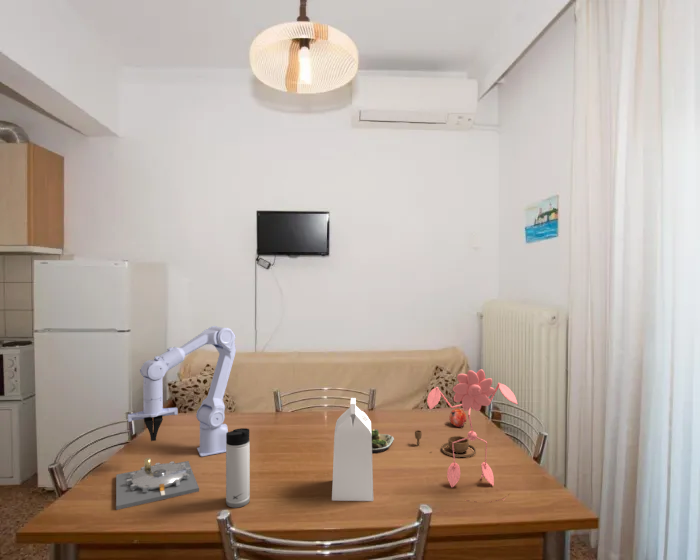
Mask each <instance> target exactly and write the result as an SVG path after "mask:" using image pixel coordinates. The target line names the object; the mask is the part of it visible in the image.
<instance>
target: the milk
mask: <svg viewBox="0 0 700 560" xmlns="http://www.w3.org/2000/svg"><path fill="white" fill-rule="evenodd" d="M349 404H350V407H349V408H347V409H346V411H344V412H343V413H342V414H341V415H340V416H339V417H338V418H337V420H336V423H335V428H334V434H333V435H334V437H333V438H334V439H333V460H332V461H333V464H332V466H333V467H332V468H333V469H332V487H331V488H332V489H331V490H332V491H331V501H340V502H341V501H342V502H344V501H345V502H348V501H349V502H350V501H351V502H352V501H353V502H374V478H373V477H374V476H373V474H374V473H373V453H372V434H371V430H372V421H371V420H370V418H369V416H368V414H366V412H364V411H363V410H361V409H360V408H359V407H358V406H357V399H356V397H351V398H350V403H349Z"/></svg>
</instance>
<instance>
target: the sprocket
mask: <svg viewBox="0 0 700 560" xmlns="http://www.w3.org/2000/svg"><path fill="white" fill-rule="evenodd" d="M143 462H144V464H143V465H144V466H142V467H140V469H139V470H140V471H138V470H137V471H138V472H137V473H131V474H130V478H132V479H127V485H130V490H135V489H141V490H143V492H148V491H149V490H156V489H159V490H160V491H163V490H164V488H166V487H170V486H172V485H175V486H178V485H180V481H182V480H183V479H188V478H189V474H188V473H191V469H192V467H191V468H190V467H189V468H186V464H185V463H182V464H175V463H176V462H175V461H170V462H168V463H160V462H156V463H155V464H153V465H152V459H151V457H146V458H144V461H143ZM131 484H132V485H131Z"/></svg>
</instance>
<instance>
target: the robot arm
mask: <svg viewBox="0 0 700 560" xmlns="http://www.w3.org/2000/svg"><path fill="white" fill-rule="evenodd" d="M235 341H236V334H235V333H234V332H233V330H232V329H231V328H230V327H220V326H217V325H213V326H210V327H208V328H205V329H204V330H203V331H202V332H200V334H198V335H196V336H195V337H193V338H192V339H190V340H188V341H187V342H186V343H183V344H182V346H180V347H177V346H170V347H168V348H167V349H166V351H165V352H163V353H161V354H160V355H156V356H154V358H153V359H148V360H146V361H144V363H142V365H141V367H140V369H139V373H140V374H141V376H143V377H142V378H143V381H142V382H143V384H142V385H143V387H142V388H143V389H142V391H143V393H142V395H143V397H142V399H143V400H142V401H143V403H142V405H143V410H141V411H137V412H131V413H127V422H133V421H138V420H143V421H144V424H145V426H146V428H147V429H148V433H149V436H150V442H155V441H157V436H158V432H159V428H160V426H161V424H162V423H163V420H164V419H163V417H168V416H178V415H179V414H178V413H179V412H178V406H177V407H165V408H164V405H163V403H164V402H163V401H164V394H163V392H164V391H163V390H164V388H163V387H164V386H163V384H164V383H163V378H164V377H165V375H166V373H167V372H169V371H170V370H172V369H173V368H174V367H177V366H178V365H180V364H181V363H183V361H185V357H186V356H188V355H189V354H191V353H193V352H195V351H197V350H198V349H200V348H201V347H203V346H206V345H212V346H213V347H215V349H216V350H217V352H218V354H219V355H218V357H217V361H216V364H215V365H216V366H215V368H214V372H213V376H212V380H211V382H210V387H209V390H208V394H207V397H206V398H204V399H203V400H202V402H201V405H200V407H198V409H197V411H196V419H197V421H198V422H199V447H196V450H197V452H198V454H199V456H200V457H206V456H213V455H217V454H223V453H226V433H227V432H229V430H228V429H229V427H228V425H227V424H226V423H224V421H225V419H226V417H225V416H226V415H225V409H226V405H225V403H224V397H225V393H226V389H227V386H228V382H229V379H230V375H231V371H232V367H233V363H234V360H235V356H236V352H237V350H236V342H235Z"/></svg>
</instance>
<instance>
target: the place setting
mask: <svg viewBox="0 0 700 560" xmlns="http://www.w3.org/2000/svg"><path fill="white" fill-rule="evenodd" d="M422 434H423V433H422V430H419V429H417V430H414V438H415V439H416V440H417V441H416V446H417V447H420V444H421V443H420V440H421V439H422ZM464 438H466V437H465V436H461V435H460V436H459V435H453V436H449V437H448V440H447V441H448V442H445V443H443V444H442V445H441V452H442V453H443V452H444V453H443V454H445V455H446V454H447V456H448V455H449V456H448V457H451V456H453V447H452V443H453V442H455V441H458V440H461V439H464ZM469 441H470V440H469V438H468V439H465V440H462V441H459V442H456V443H453V444H454V452H456V453H454V456H455V458H456V457H469V458H471V457H470V456H472V457H474V456H475V455H476V452H477V448H475V447H476V446H474V445H471V444H470V442H469ZM469 444H470V445H469ZM446 446H449V449H450V450H451V451H452V453H451V452H449V451H446V450H445V449H446V448H447V447H446ZM473 446H474V447H473ZM445 447H446V448H445ZM468 447H470V448H472V449H473V450H474V452H473V451H472V453H471V452H470V453H469V454H464V453H465V452H467V450H468V449H469V448H468ZM443 448H444V450H443ZM432 452H433V451H430V452H429V454H432ZM463 452H464V453H463ZM458 453H462V454H458ZM474 454H475V455H474ZM473 455H474V456H473Z"/></svg>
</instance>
